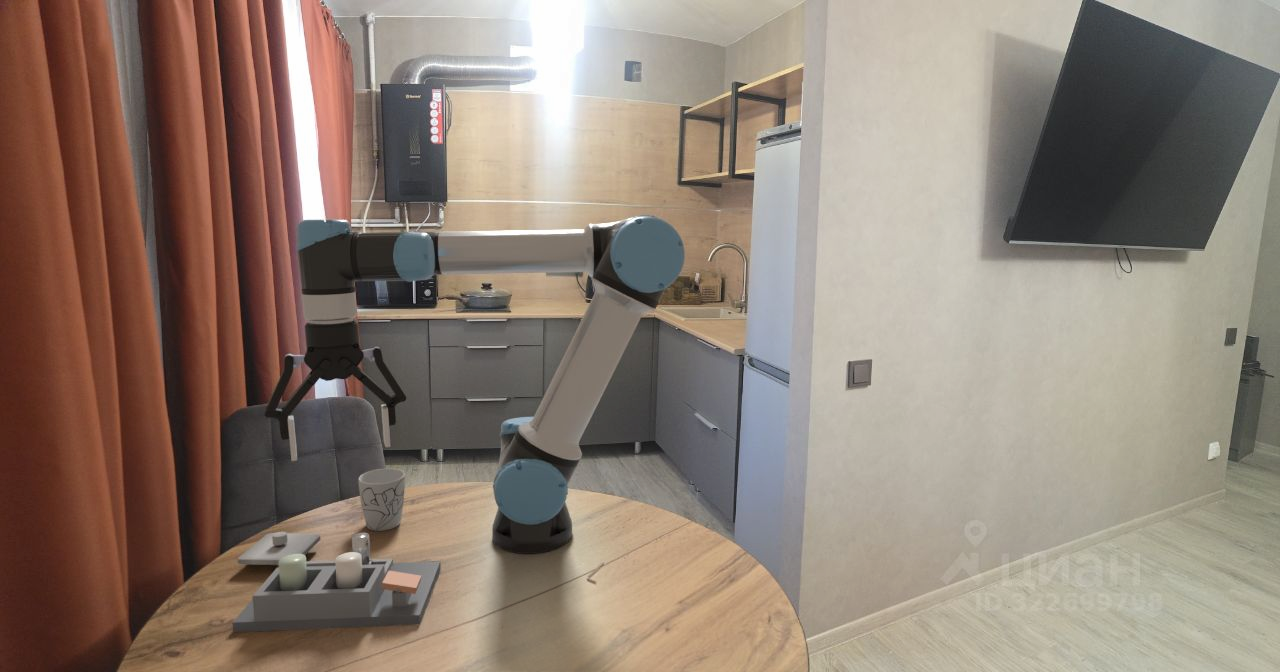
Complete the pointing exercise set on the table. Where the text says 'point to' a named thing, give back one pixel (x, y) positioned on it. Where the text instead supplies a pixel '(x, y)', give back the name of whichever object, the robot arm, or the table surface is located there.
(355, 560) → the white button
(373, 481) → the mug
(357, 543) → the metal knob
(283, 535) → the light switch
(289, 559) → the sage button
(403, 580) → the block
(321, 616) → the panel
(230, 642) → the table surface
